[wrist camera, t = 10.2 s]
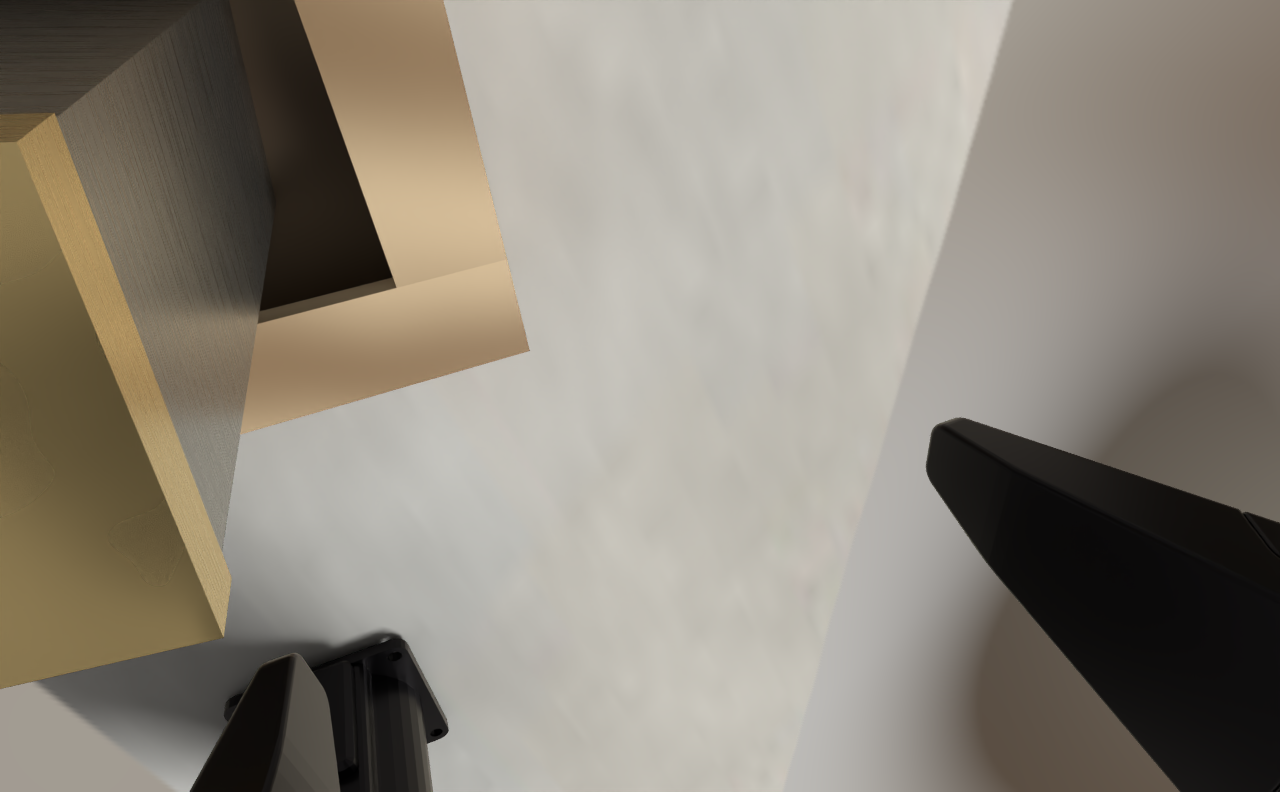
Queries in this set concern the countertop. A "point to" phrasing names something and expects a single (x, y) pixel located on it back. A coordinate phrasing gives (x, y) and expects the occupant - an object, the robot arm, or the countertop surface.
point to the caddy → (369, 207)
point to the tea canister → (122, 324)
